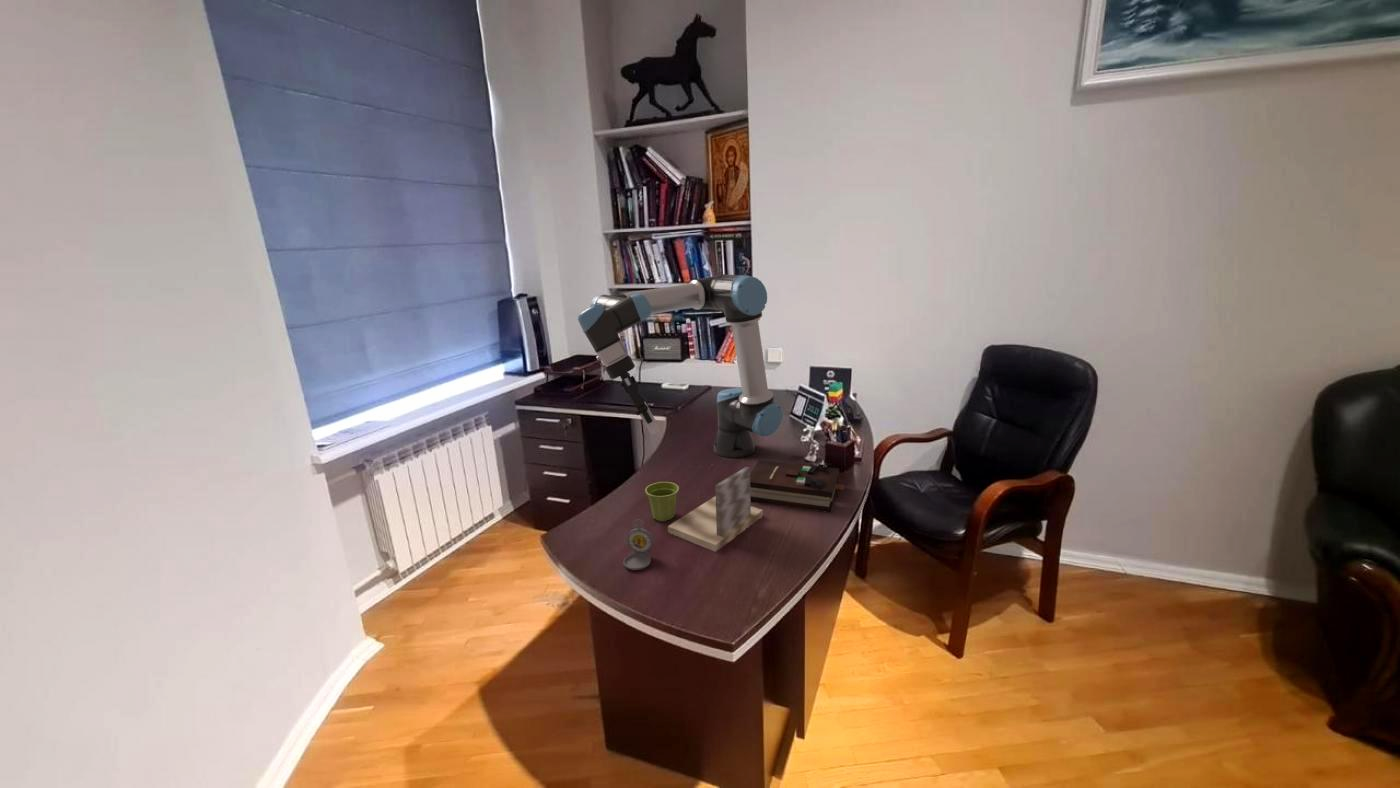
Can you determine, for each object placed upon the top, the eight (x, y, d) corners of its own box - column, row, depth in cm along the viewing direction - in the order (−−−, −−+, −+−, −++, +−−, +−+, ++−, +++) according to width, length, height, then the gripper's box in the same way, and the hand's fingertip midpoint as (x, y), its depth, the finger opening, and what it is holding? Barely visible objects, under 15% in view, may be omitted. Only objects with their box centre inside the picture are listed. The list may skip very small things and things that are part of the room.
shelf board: (717, 501, 163) (715, 451, 158) (762, 516, 153) (762, 463, 148) (668, 532, 146) (664, 478, 142) (715, 552, 137) (713, 494, 132)
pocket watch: (628, 574, 129) (624, 537, 126) (618, 556, 136) (615, 520, 133) (660, 565, 132) (658, 528, 129) (649, 548, 139) (647, 513, 136)
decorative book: (752, 455, 177) (847, 465, 167) (753, 476, 179) (846, 487, 169) (735, 479, 160) (840, 492, 150) (736, 502, 162) (839, 517, 152)
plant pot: (649, 508, 160) (647, 481, 157) (681, 508, 159) (679, 481, 157) (645, 525, 151) (643, 496, 148) (679, 524, 150) (677, 496, 148)
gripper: (604, 364, 159) (639, 426, 162) (603, 370, 134) (644, 444, 138) (627, 351, 159) (661, 414, 163) (630, 356, 135) (670, 429, 139)
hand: (654, 428), depth 151 cm, fingers open, 13 cm apart
